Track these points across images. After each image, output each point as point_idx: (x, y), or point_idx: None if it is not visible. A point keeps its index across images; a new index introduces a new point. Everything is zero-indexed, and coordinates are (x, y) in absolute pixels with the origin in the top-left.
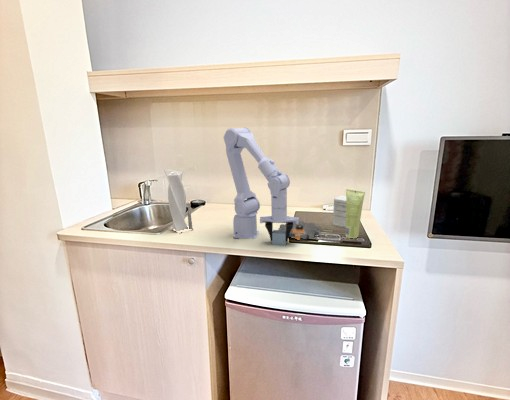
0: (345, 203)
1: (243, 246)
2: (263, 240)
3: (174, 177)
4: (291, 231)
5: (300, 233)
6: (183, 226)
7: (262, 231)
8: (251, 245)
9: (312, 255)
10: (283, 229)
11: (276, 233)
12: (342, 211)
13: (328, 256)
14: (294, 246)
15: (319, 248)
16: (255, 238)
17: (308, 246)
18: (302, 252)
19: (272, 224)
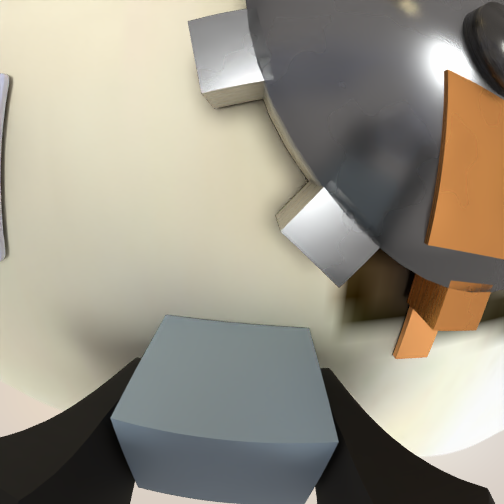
0: None
1: (7, 370)
2: (65, 280)
3: None
4: (419, 165)
5: (501, 259)
6: None
7: (37, 41)
8: (32, 366)
9: (426, 455)
10: (283, 63)
11: (191, 497)
12: None
13: (481, 438)
14: (370, 393)
15: (499, 380)
16: (2, 257)
17: (463, 371)
18: None
19: (61, 493)
